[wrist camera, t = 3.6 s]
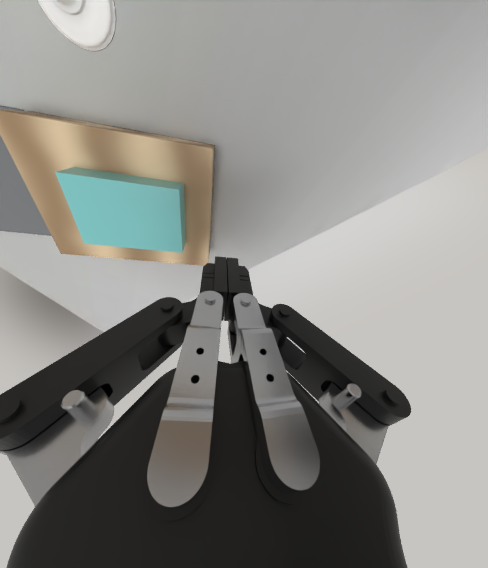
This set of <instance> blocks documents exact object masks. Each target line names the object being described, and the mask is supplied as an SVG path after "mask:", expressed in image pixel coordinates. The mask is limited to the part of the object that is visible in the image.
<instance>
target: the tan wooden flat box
mask: <svg viewBox="0 0 488 568" xmlns="http://www.w3.org/2000/svg"><path fill="white" fill-rule="evenodd" d="M0 135H1V137H2V139H3V141H4V143H5V145H6V147H7V149H8V151H9V153H10V155H11V157H12V159H13V161H14V163H15V165H16V166H17V168H18V170H19V172H20V174H21V176H22V178H23V180H24V182H25V184H26V186H27V188H28V190H29V192H30V194H31V196H32V198H33V200H34V202H35V204H36V206H37V208H38V210H39V212H40V214H41V216H42V217H43V219H44V221H45V223H46V225H47V227H48V229H49V231H50V233H51V235H52V237H53V239H54V241H55V243H56V245H57V247H58V249H59V251H60V253H61V254H71V255H83V256H95V257H107V258H119V259H131V260H142V261H154V262H166V263H178V264H190V265H202V266H205V265H206V264H207V263H208V260H209V252H210V234H211V213H212V192H213V172H214V151H215V145H211V144H205V143H200V142H194V141H189V140H183V139H178V138H173V137H167V136H162V135H156V134H151V133H145V132H140V131H135V130H129V129H124V128H118V127H113V126H107V125H102V124H96V123H91V122H86V121H80V120H75V119H69V118H64V117H58V116H53V115H48V114H42V113H37V112H31V111H19V110H6V109H0ZM72 167H79V168H85V169H92V170H99V171H106V172H112V173H119V174H126V175H132V176H139V177H146V178H153V179H159V180H166V181H173V182H179V183H184V201H185V227H186V244H185V247H184V250H183V253H178V252H168V251H157V250H146V249H135V248H125V247H114V246H103V245H93V244H84V242H83V240H82V237H81V235H80V232H79V230H78V227H77V225H76V223H75V220H74V218H73V215H72V213H71V210H70V208H69V205H68V203H67V200H66V198H65V196H64V193H63V191H62V188H61V186H60V183H59V181H58V178H57V176H56V173H55V172H57V171H61V170H64V169H68V168H72Z"/></svg>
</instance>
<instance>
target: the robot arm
mask: <svg viewBox="0 0 488 568" xmlns="http://www.w3.org/2000/svg"><path fill="white" fill-rule="evenodd" d="M223 319H224V320H225V321H228V322H229V327H228V339H229V348H230V356H231V364H229V363H224V362H220V361H218V353H219V342H220V332H221V321H222V320H223ZM287 337H288V338H290V339H291V340H292V341H293V342H294V343H296V344H297V345H298V346H299V347H300V348H301V349H302V350H303V351H304V352H305V353H304V352H302V351H301V350H300V349H299V348H298V347H297V346H295V345H294V344H293V343H292V342H291V341H290V340H288V339H287ZM182 344H183V345H182ZM181 345H182V349H181V353H180V357H179V360H178V364H177V368H175V369H173V370H171V371H169V372H167V373H166V374H164V375H163V376H162V377H160V378H159V379H158V380H157V381H156V382H155V383H154V384H153V385H152V386H151V387H150V388H149V389H148V390H147V391H146V392H145V393H144V394H143V395H142V396H141V397H140V398H139V399H138V400H137V401H136V402H135V403H134V404H133V405H132V406H131V407H130V408H129V409H128V410H127V411H126V412H125V413H124V414H123V415H122V416H121V417H120V418H119V419H118V420H117V421H116V422H115V423H114V424H113V425H112V426H111V428H109V429H108V430H107V431H106V433H105V434H103V435H102V436H101V438H99V436H100V435H101V434H102V433H103V431H104V430H105V429H106V428H107V427H108V425H109V424H110V422H111V420H112V417H113V415H114V405H116V404H117V403H118V402H119V401H120V400H121V399H122V398H123V397H124V396H126V394H128V393H129V392H130V391H131V390H132V389H133V388H135V387H136V386H137V385H138V384H139V383H140V382H141V381H142V380H143V379H145V378H146V376H148V375H149V374H150V373H151V372H152V371H153V370H155V369H156V368H157V367H158V366H159V365H160V364H161V363H163V362H164V361H165V360H166V359H167V358H168V357H169V356H170V355H172V354H173V353H174V352H175V351H176V350H177V349H178V348H179V347H180V346H181ZM286 370H287V371H288V372H289V373H290V374H291V375H292V376H293V377H294V378H295V379H296V380H297V381H298V382H299V383H300V384H301V385H302V386H303V387H304V388H305V389H306V390H307V391H308V392H309V393H310V394H311V395H312V396H313V397H315V398H316V399H317V400H318V401H319V404H318V403H317V402H316V401H315V399H314V398H313V397H312V396H311V395H310V394H309V393H308V392H307V391H306V390H305V389H304V388H303V387H302V386H301V385H300V384H299V383H298V382H297V381H296V380H295V379H294V378H293V377H292V376H291V375H290V374H289V373H287V372H286ZM410 413H411V407H410V404H409V401H408V400H407V398H406V396H405V395H404V394H403V393H402V392H401V390H399V389H398V388H397V387H396V386H395V385H393V384H392V383H391V382H389V381H388V380H387V379H385V378H384V377H383V376H381V375H380V374H379V373H377V372H376V371H375V370H373V369H372V368H371V367H369V366H368V365H367V364H365V363H364V362H363V361H361V360H360V359H359V358H358V357H356V356H355V355H354V354H352V353H351V352H350V351H348V350H347V349H346V348H344V347H343V346H341V345H340V344H339V343H337V342H336V341H335V340H334V339H332V338H331V337H329V336H328V335H327V334H326V333H324V332H323V331H322V330H320V329H319V328H318V327H316V326H315V325H314V324H312V323H311V322H310V321H308V320H307V319H306V318H304V317H303V316H302V315H300V314H299V313H298V312H296V311H295V310H294V309H292V308H291V307H289V306H287V305H284V304H277V305H275V306H274V307H273V308H269V307H266V306H263V305H261V304H259V303H258V301H257V299H256V298H255V297H254V296H253V292H252V287H251V282H250V277H249V272H248V270H247V269H246V268H245V266H239V265H238V259H237V258H227V259H226V257H216V256H215V264H212V263H207V264H206V265H205V266H204V267H203V273H202V280H201V288H200V294H199V295H198V297H197V298H196V299H195V300H193V301H191V302H186V303H181V302H180V301H179V300H178V299H176V298H172V297H166V298H162V299H159V300H157V301H156V302H154V303H152V304H151V305H149V306H147V307H146V308H144V309H142V310H141V311H139V312H137V313H136V314H134V315H132V316H131V317H129V318H127V319H126V320H124V321H123V322H121V323H119V324H118V325H116V326H114V327H113V328H111V329H109V330H108V331H106V332H104V333H103V334H101V335H99V336H98V337H96V338H94V339H93V340H91V341H89V342H88V343H86V344H84V345H83V346H81V347H79V348H78V349H76V350H74V351H73V352H71V353H69V354H68V355H66V356H64V357H63V358H61V359H59V360H58V361H56V362H54V363H53V364H51V365H49V366H48V367H46V368H44V369H43V370H41V371H39V372H38V373H36V374H34V375H33V376H31V377H29V378H28V379H26V380H24V381H23V382H21V383H19V384H18V385H16V386H14V387H13V388H11V389H9V390H8V391H6V392H4V393H3V394H1V395H0V453H2V454H5V455H7V456H8V458H9V460H10V461H11V463H12V465H13V467H14V469H15V470H16V472H17V474H18V476H19V478H20V480H21V481H22V483H23V485H24V487H25V489H26V490H27V492H28V494H29V496H30V498H31V499H32V501H33V503H34V505H35V508H34V510H33V511H32V513H31V514H30V516H29V518H28V519H27V521H26V522H25V524H24V526H23V528H22V530H21V532H20V534H19V536H18V538H17V540H16V542H15V545H14V547H13V550H12V553H11V555H10V559H9V561H8V565H7V568H407V565H406V562H405V558H404V553H403V550H402V545H401V539H400V534H399V527H398V520H397V514H396V508H395V504H394V500H393V497H392V495H391V491H390V489H389V487H388V484H387V482H386V480H385V478H384V476H383V475H382V473H381V471H380V470H379V468H378V467H377V465H376V463H377V460H378V457H379V454H380V450H381V448H382V445H383V441H384V438H385V435H386V432H387V429H388V426H390V425H392V424H394V423H396V422H398V421H400V420H402V419H404V418H406V417H408V416H409V415H410ZM98 438H99V439H98Z"/></svg>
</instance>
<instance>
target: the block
mask: <svg viewBox="0 0 488 568" xmlns="http://www.w3.org/2000/svg"><path fill="white" fill-rule="evenodd" d="M55 173H56V176H57V178H58V181H59V183H60V186H61V188H62V191H63V193H64V196H65V198H66V200H67V203H68V205H69V208H70V210H71V213H72V215H73V218H74V220H75V223H76V225H77V227H78V230H79V232H80V235H81V237H82V240H83V242H84V244H93V245H103V246H114V247H125V248H135V249H146V250H157V251H168V252H178V253H183V250H184V247H185V244H186V227H185V201H184V183H179V182H173V181H166V180H159V179H153V178H146V177H139V176H132V175H126V174H119V173H112V172H106V171H99V170H92V169H85V168H79V167H72V168H68V169H64V170H61V171H57V172H55Z"/></svg>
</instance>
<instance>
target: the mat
mask: <svg viewBox="0 0 488 568" xmlns="http://www.w3.org/2000/svg"><path fill="white" fill-rule="evenodd" d="M0 109H6V110H19V111H24V110H20V109H15V108H9V107H4V106H0ZM0 231H8V232H18V233H29V234H39V235H49V236H52V235H51V233H50V231H49V229H48V227H47V225H46V223H45V221H44V219H43V217H42V216H41V214H40V212H39V210H38V208H37V206H36V204H35V202H34V200H33V198H32V196H31V194H30V192H29V190H28V188H27V186H26V184H25V182H24V180H23V178H22V176H21V174H20V172H19V170H18V168H17V166H16V165H15V163H14V161H13V159H12V157H11V155H10V153H9V151H8V149H7V147H6V145H5V143H4V141H3V139H2V137H1V135H0Z"/></svg>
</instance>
